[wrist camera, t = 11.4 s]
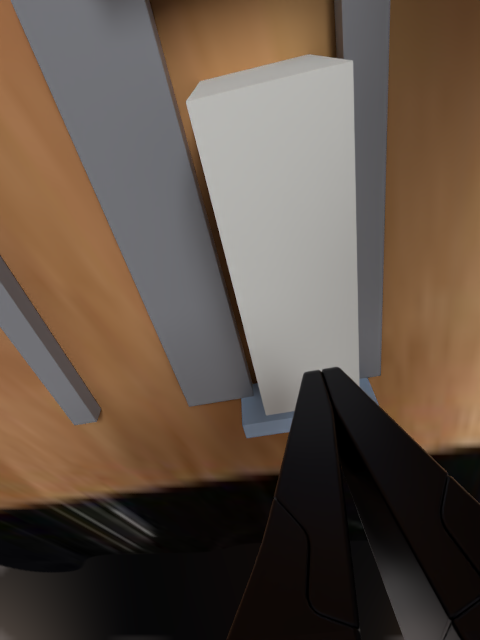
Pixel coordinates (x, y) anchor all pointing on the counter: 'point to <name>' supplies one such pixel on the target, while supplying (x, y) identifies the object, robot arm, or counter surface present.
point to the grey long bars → (179, 191)
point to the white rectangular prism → (286, 213)
